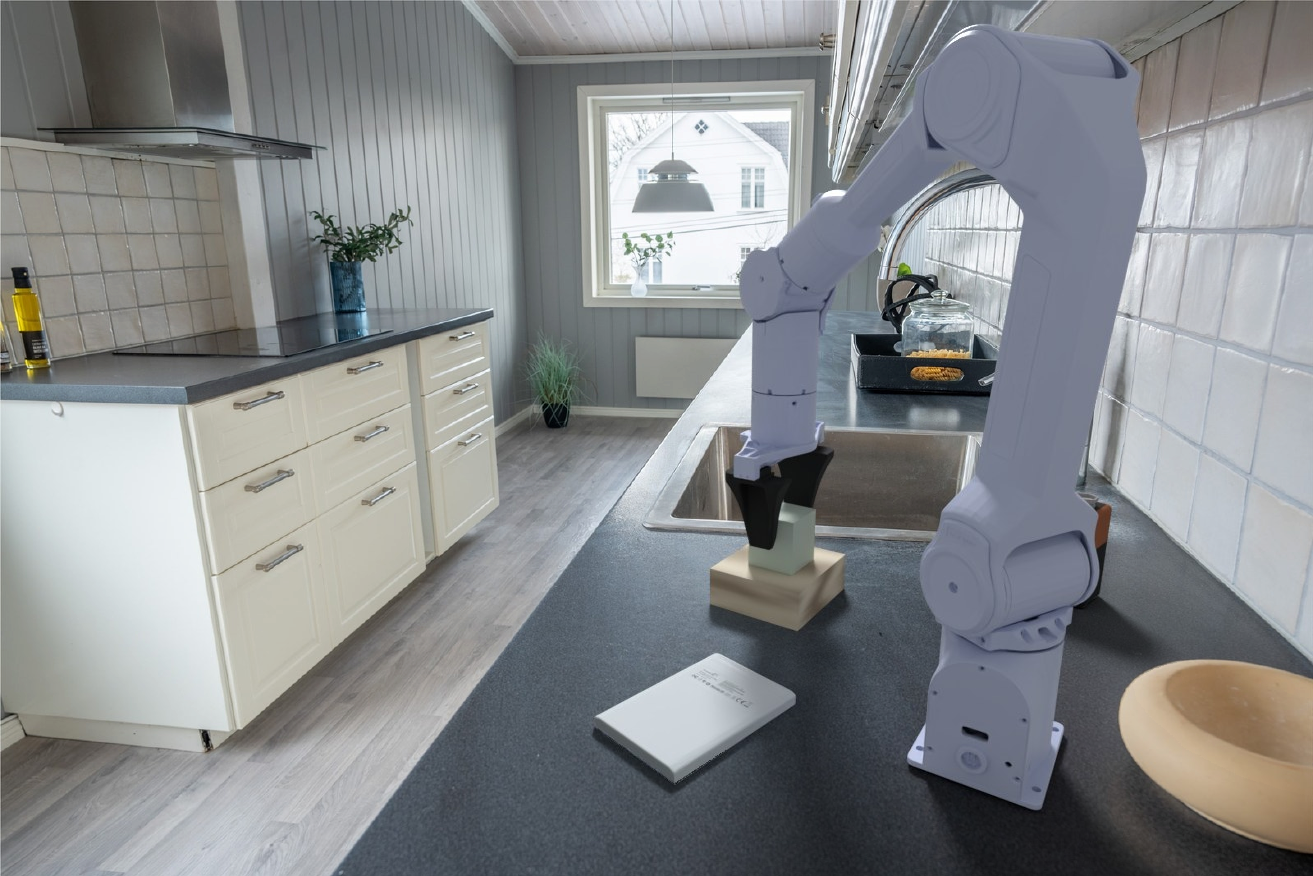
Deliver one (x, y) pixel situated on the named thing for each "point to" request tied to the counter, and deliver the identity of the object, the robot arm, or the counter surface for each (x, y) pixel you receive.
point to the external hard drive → (695, 714)
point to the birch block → (777, 588)
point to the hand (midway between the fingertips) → (780, 533)
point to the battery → (1098, 537)
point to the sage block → (788, 541)
